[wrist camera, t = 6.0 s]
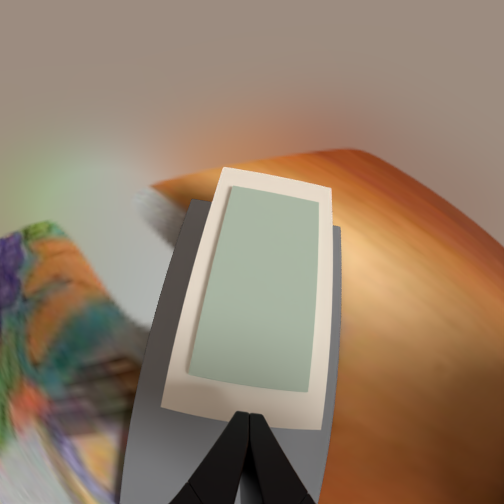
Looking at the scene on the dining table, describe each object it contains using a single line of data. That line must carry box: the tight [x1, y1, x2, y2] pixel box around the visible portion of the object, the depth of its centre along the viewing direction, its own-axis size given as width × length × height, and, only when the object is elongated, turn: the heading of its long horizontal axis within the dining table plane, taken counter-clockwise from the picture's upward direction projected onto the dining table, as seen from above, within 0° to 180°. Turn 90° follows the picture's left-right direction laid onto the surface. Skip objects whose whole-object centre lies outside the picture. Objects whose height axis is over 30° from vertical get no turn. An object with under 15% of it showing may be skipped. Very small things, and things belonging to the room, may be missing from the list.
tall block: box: [161, 167, 333, 430], centre depth 14 cm, size 5×6×12 cm
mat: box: [120, 199, 341, 504], centre depth 15 cm, size 22×11×1 cm, turn 171°
